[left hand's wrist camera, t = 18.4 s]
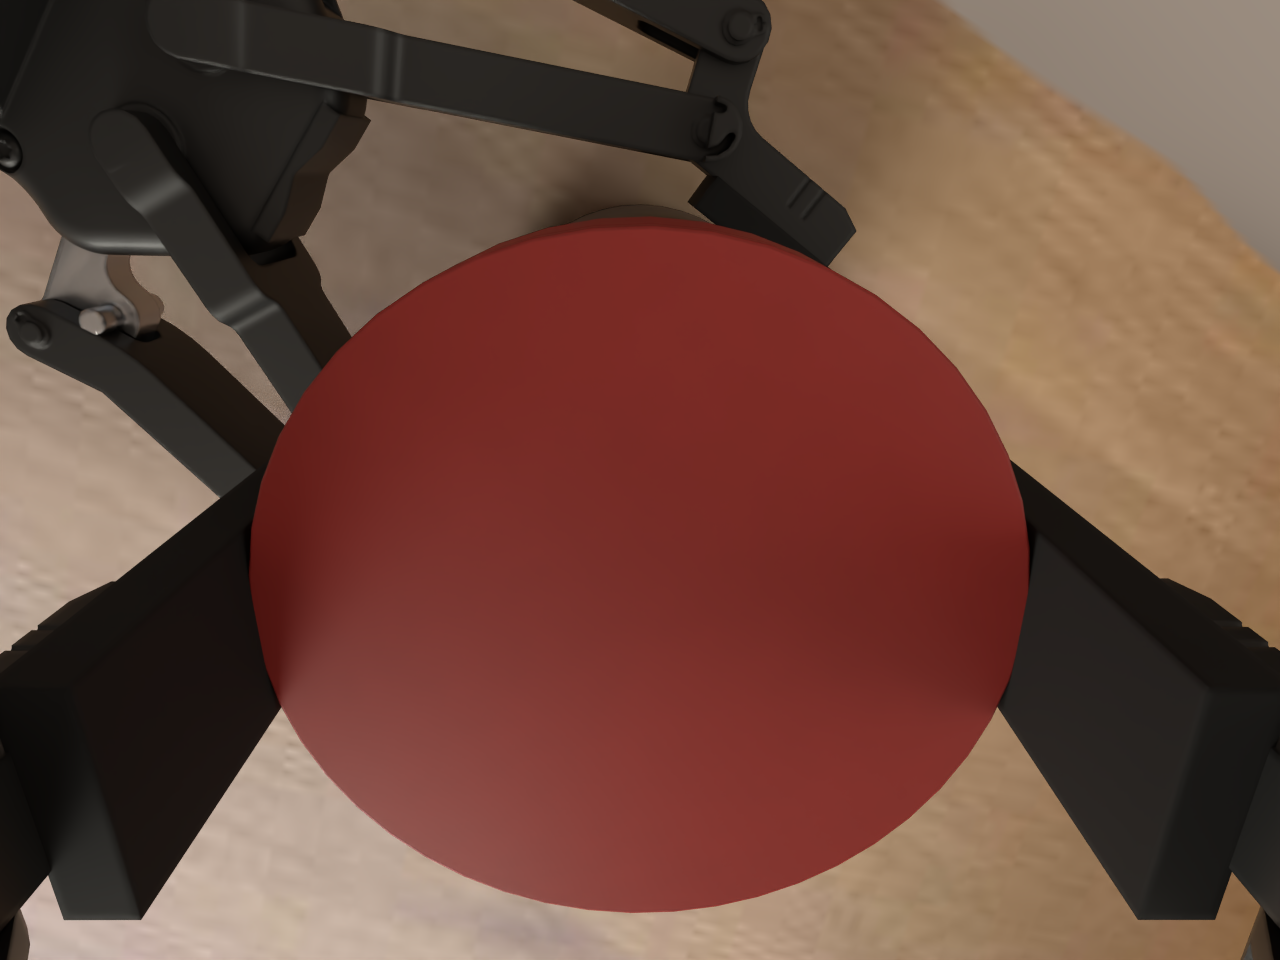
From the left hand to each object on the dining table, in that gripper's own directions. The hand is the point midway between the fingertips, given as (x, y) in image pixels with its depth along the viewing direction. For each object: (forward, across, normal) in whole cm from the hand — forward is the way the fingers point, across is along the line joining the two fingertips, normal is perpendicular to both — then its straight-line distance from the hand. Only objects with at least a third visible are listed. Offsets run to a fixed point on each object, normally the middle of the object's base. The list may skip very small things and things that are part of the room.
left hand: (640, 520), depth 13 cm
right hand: (+6, -4, +3) cm, 8 cm away
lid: (-3, 0, 0) cm, 3 cm away
